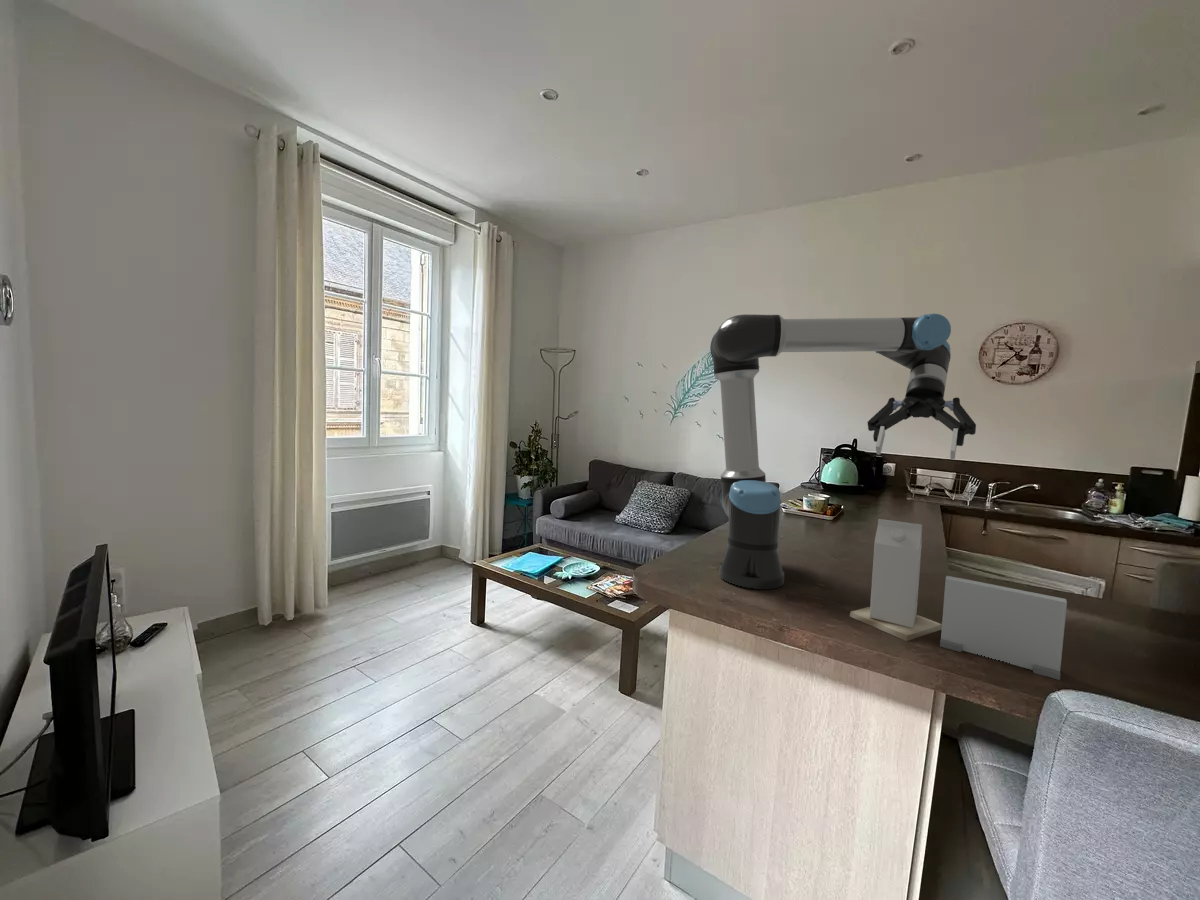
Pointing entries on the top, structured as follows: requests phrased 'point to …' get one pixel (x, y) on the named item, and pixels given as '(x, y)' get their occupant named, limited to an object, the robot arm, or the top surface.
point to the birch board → (900, 631)
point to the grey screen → (1004, 624)
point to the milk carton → (896, 572)
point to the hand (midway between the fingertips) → (913, 452)
